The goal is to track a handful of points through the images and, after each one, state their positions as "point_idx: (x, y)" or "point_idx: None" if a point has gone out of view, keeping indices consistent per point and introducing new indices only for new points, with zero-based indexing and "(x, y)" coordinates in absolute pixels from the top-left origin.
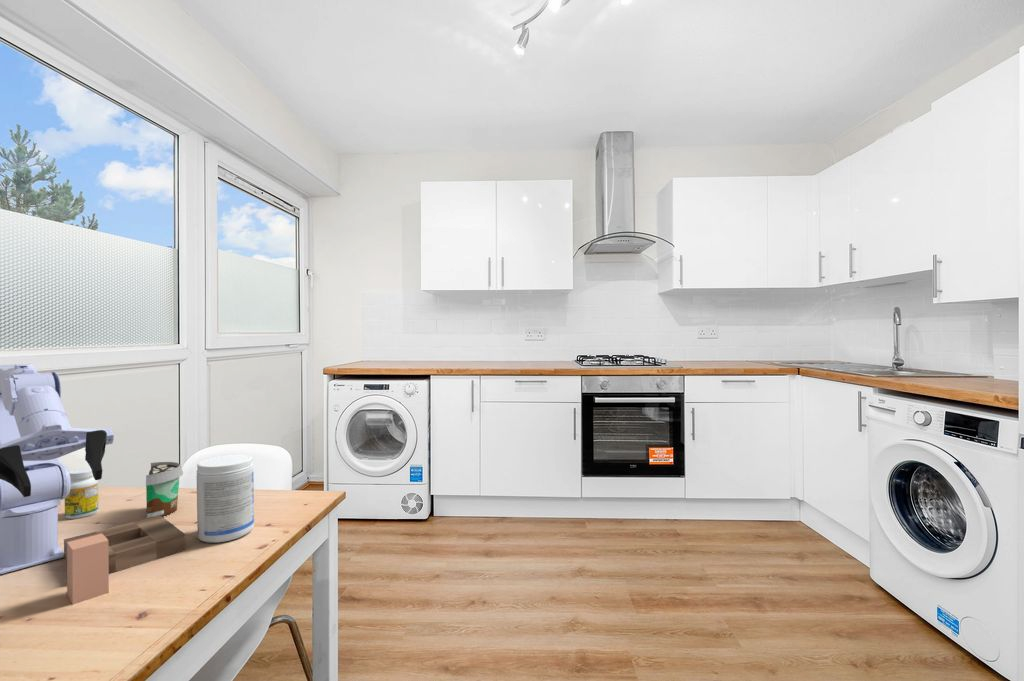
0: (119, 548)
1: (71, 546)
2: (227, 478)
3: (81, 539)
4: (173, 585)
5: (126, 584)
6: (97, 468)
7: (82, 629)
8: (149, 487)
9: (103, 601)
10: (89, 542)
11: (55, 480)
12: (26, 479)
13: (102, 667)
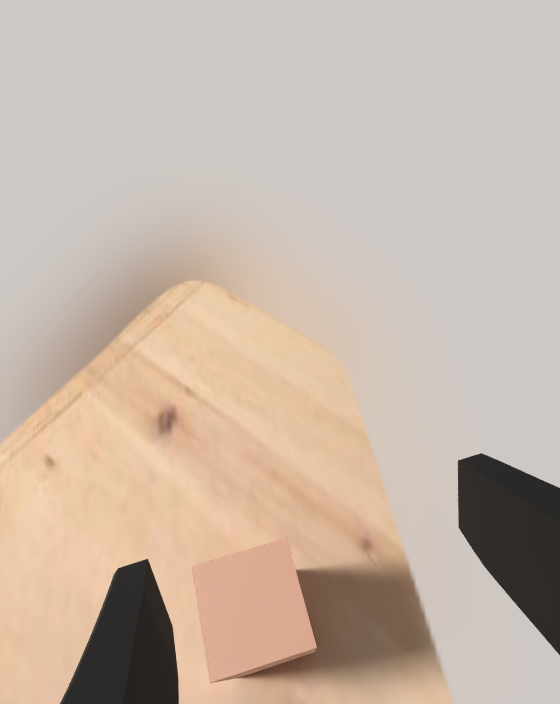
0: None
1: (294, 579)
2: None
3: (273, 647)
4: (91, 529)
5: (182, 620)
6: (136, 569)
7: (260, 428)
8: None
9: (231, 540)
10: (245, 584)
11: None
12: (502, 477)
13: (225, 300)
